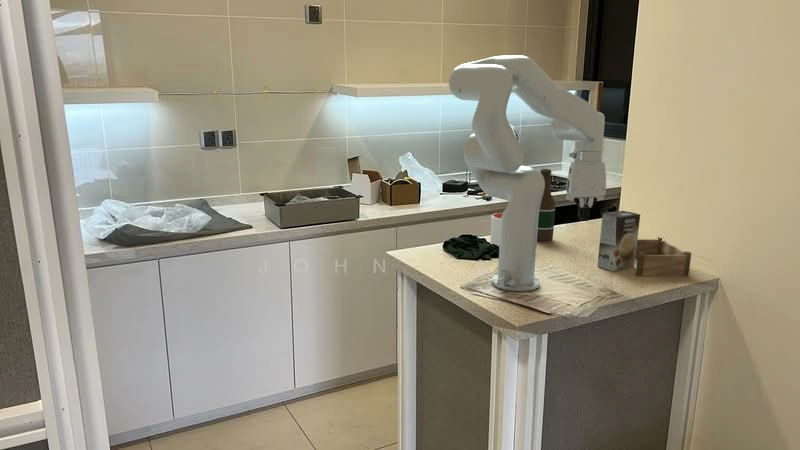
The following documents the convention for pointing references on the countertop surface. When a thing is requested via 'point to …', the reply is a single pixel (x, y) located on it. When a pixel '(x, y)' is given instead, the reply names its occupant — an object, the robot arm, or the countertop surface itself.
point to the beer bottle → (546, 211)
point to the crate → (661, 259)
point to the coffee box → (618, 240)
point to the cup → (496, 228)
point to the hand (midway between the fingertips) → (583, 219)
